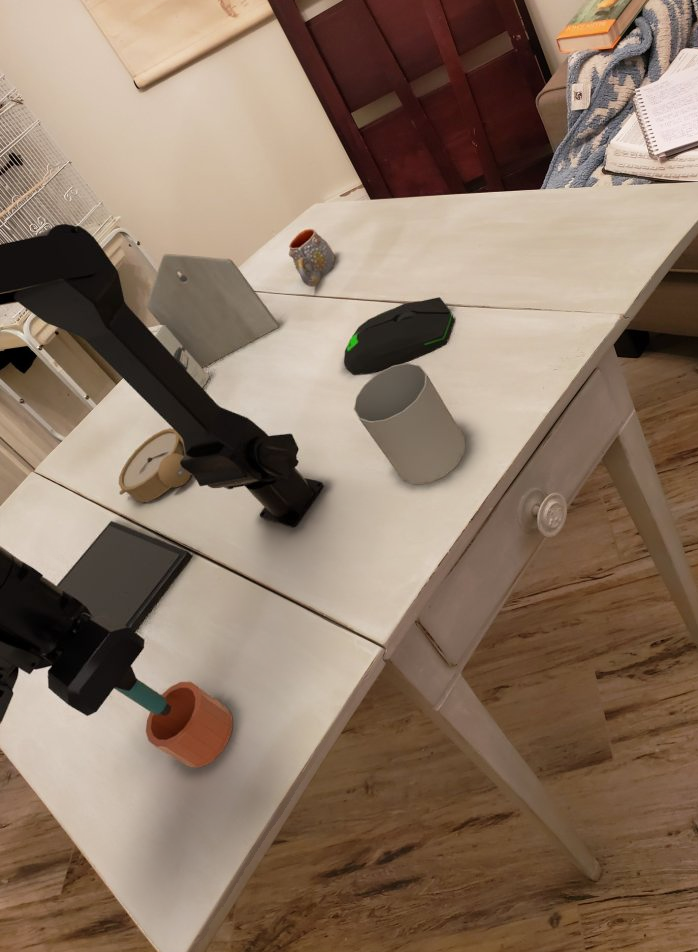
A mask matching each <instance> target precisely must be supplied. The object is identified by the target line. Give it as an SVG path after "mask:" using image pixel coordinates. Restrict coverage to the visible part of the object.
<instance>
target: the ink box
mask: <svg viewBox="0 0 698 952" xmlns="http://www.w3.org/2000/svg"><path fill="white" fill-rule="evenodd" d="M147 328H148V329H149V330H150V331H151V332H152V333H153V334H154V336H155V337H156V338H157V339H158V340H159V341H160V342H161V343H162V344H163V345H164V347H165V348H166V349H167V350H168V351H169V352H170V353H171V354H172V355H173V356H174V358H175V359H176V360H177V361H178V362H179V363H180V364H181V365H182V366H183V367H184V368H185V370H186V371H187V372H188V373H189V374H190V375H191V376H192V377H193V378H194V379H195V381H196V382H197V383H198V384H199V385H200V386H201V387H202V388H203V389H204V386H205V385H206V383H207V382H208V380H209V379H210V376H209V374H208V373H207V372H206V371H205V370H204V369H203V368H201V367H200V365H199V364H198V363H197V362H196V361H195V360H194V359H193V357H192V356H191V355H190V354H189V353H188V352H187V350H186V349H185V348H184V347H183V346H182V345H181V344H180V342H179V341H178V340H177V339H176V338H175V337H174V335H173V334H172V333H171V332H170V331H169V330H168V328H167V327H166V326H165V325H161V324H158V325H154V326H148V327H147Z"/></svg>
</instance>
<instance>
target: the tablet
mask: <svg viewBox="0 0 698 952" xmlns="http://www.w3.org/2000/svg"><path fill="white" fill-rule="evenodd" d="M192 557H193V554H192V553H190V552H189V551H188V550H185V549H183V548H180V547H178V546H175V545H172V544H171V543H168V542H165V541H163V540H160V539H158V538H155V537H154V536H150V535H147V534H145V533H142V532H140V531H137V530H135V529H133V528H130V527H128V526H125V525H123V524H120V523H117V522H115V521H113V520H111V521H109V522H108V524H107V525H106V526H105V527H104V528H103V530H102V531H101V532H100V533H99V534H98V536H97V537H96V538H95V540H93V542H91V544H90V545H89V547H87V549H86V550H85V551H84V552H83V554H82V555H81V556H80V557H79V558H78V559H77V560H76V562H75V563H74V565H72V566H71V567H70V569H69V570H68V571H67V573H66V574H65V575H64V576H63V577H62V578H61V580H60V581H59V582H58V583H57V584H56V586H57V587H58V588H60V589H61V590H63V591H64V592H66V593H68V594H69V595H71V596H73V597H74V598H76V599H77V600H78V601H80V602H81V603H83V605H85V606H86V607H87V608H88V610H89V611H90V613H91V615H92V616H93V618H94V617H98V616H102V615H108V616H110V617H111V618H113V619H115V620H117V621H118V622H120V623H122V624H123V625H125V626H127V627H128V628H130V629H131V630H132V631H134V632H135V633H136V631H137V630H138V628H139V627H140V625H141V624H142V623H143V621H144V620H145V619H146V618H147V616H148V615H149V614H150V612H151V611H152V610H153V608H154V607H155V606H156V604H158V602H159V601H160V599H161V598H162V596H163V595H164V594H165V593H166V592H167V590H168V589H169V588H170V586H171V585H172V584H173V582H174V581H175V579H177V577H178V576H179V574H180V573H181V572H182V571H183V569H184V568H185V566H186V565H187V564H188V562H189V561H190V560H191V559H192Z"/></svg>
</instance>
